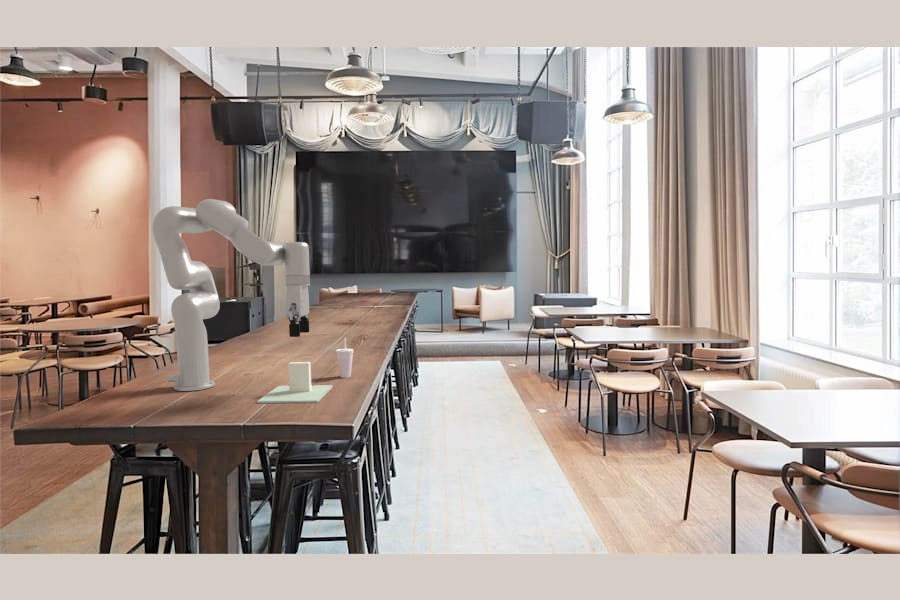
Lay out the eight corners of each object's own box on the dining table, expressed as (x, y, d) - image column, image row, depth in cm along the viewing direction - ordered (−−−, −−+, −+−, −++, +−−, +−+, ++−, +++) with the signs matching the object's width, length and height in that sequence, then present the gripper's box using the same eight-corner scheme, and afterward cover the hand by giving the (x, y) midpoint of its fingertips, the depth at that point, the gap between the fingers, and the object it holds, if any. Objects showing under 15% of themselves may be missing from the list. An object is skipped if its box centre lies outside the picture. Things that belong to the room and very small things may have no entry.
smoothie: (342, 379, 203) (340, 339, 202) (333, 376, 208) (331, 337, 207) (357, 376, 207) (356, 337, 206) (348, 373, 212) (347, 335, 211)
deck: (289, 391, 184) (288, 363, 183) (291, 389, 186) (290, 362, 185) (309, 391, 183) (308, 363, 183) (311, 389, 186) (310, 361, 185)
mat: (257, 403, 172) (257, 401, 172) (278, 387, 192) (278, 385, 192) (317, 402, 172) (317, 400, 172) (332, 386, 192) (332, 385, 192)
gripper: (294, 279, 194) (296, 330, 195) (276, 282, 176) (278, 338, 178) (317, 279, 193) (318, 330, 195) (301, 282, 176) (303, 338, 177)
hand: (299, 334), depth 186 cm, fingers open, 9 cm apart
